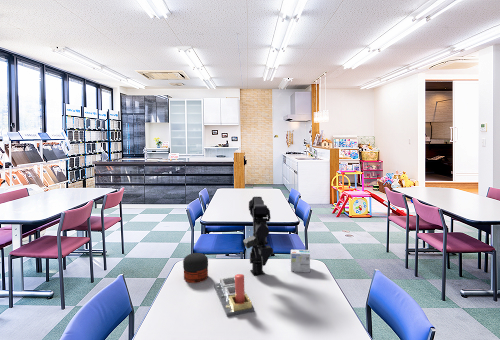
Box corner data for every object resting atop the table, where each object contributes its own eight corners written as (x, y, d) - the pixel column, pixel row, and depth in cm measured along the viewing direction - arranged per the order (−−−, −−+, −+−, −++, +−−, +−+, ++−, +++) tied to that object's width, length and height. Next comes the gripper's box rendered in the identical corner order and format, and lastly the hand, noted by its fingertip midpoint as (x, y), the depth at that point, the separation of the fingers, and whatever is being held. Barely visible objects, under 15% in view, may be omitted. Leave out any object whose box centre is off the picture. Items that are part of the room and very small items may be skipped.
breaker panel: (214, 286, 154) (213, 279, 154) (237, 283, 158) (237, 275, 157) (227, 316, 129) (226, 307, 128) (254, 311, 132) (254, 302, 132)
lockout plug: (236, 301, 137) (236, 273, 136) (245, 302, 136) (245, 274, 135) (234, 306, 133) (233, 277, 132) (243, 307, 132) (242, 278, 131)
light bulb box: (309, 267, 177) (309, 249, 176) (310, 272, 170) (310, 253, 169) (290, 267, 178) (290, 248, 177) (290, 272, 171) (290, 253, 170)
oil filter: (192, 270, 173) (178, 280, 161) (191, 249, 172) (178, 257, 160) (212, 274, 168) (200, 284, 156) (212, 252, 167) (199, 261, 155)
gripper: (239, 227, 157) (239, 257, 159) (250, 238, 140) (251, 271, 141) (260, 225, 161) (260, 254, 162) (273, 236, 143) (273, 268, 145)
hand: (260, 261), depth 152 cm, fingers open, 9 cm apart
